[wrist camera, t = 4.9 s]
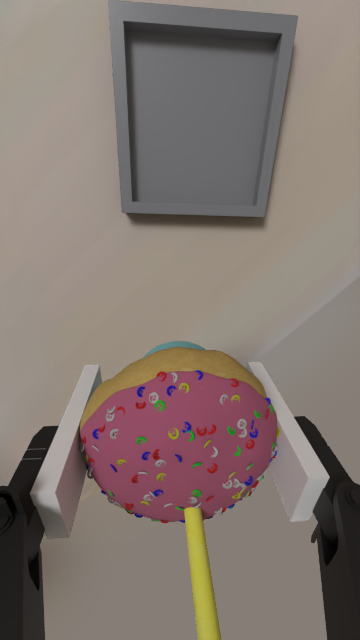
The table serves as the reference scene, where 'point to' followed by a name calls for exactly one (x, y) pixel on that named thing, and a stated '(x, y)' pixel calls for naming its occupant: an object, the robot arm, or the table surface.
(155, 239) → the table surface
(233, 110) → the tray
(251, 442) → the cupcake
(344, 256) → the table surface
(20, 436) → the table surface
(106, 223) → the table surface
